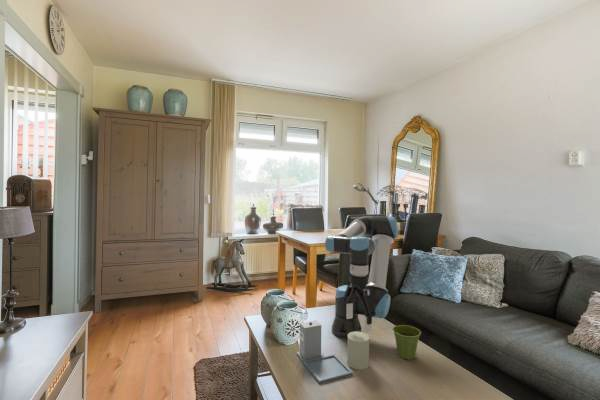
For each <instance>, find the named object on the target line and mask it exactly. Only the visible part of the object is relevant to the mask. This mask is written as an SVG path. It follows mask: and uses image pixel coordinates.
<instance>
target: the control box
mask: <svg viewBox="0 0 600 400" xmlns="http://www.w3.org/2000/svg"><path fill="white" fill-rule="evenodd" d="M296 355H297V356H298V358H299V359H300V361H302V363H304V361H306V360H310V359H315V358H319V357H323V356H325V355H324V354H323V353H322V324H321V322H318V320H313V321H312V320H311V321H306V322H301V323H299V351H297V352H296Z"/></svg>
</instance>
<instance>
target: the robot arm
mask: <svg viewBox="0 0 600 400" xmlns="http://www.w3.org/2000/svg"><path fill="white" fill-rule="evenodd" d="M398 237H399V229H398V221H397V218H396V217H393V216H378V215H365V216H360V217H358V218H356V219H354V220H353V221H351V222H350V223H349V225H348V227H346V228H345V229H343V230H342V231H340V233H338V234H337V235H327V237H326V238H325V241H324V248H325V250H326V252H328V253H336V254H343V255H344V254H348V255H349V257H350V258H349V262H350V263H349V273H350V274H349V281H347V284H344V285H341V286H338V287H337V288H336V289H335V296H334V297H335V299H334V301H335V305H334V308H335V311H334V312H335V314H334V319H333V322H332V324H331V333H332V334H333V335H335V336H337V337H338V338H344V339H348V336H347V335H348V334H349V333H350V332H355V331H358V332H363V331H362V325H361V321H360V318H359V316H360V315H361V316H364V329H363V330H364V332H363V333H369V332H372V323H373V318H375V319H385V318H386V316H388V314H389V310H390V306H391V295H390V294H389V291H388V289H387V287H386V285H387V275H388V268H389V259H390V252H391V244H393V243H394V242H395V240H396V239H398ZM370 255H372V256H371V262H370V268H369V256H370ZM369 269H370V270H369Z"/></svg>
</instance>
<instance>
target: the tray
mask: <svg viewBox="0 0 600 400" xmlns="http://www.w3.org/2000/svg"><path fill="white" fill-rule="evenodd" d="M303 365H304V366H305V368H306V369H307V370H308V371H309V373H310V374H311V376H313V378H314V379H315V380H316V382H318V384H323V383H328V382H331V381H335V380H339V379H342V378H347V377H351V376H353V375H354V372H353V371H352V370H351V368H349V366H347V365H346V364H345V362H343V361H342V360H341V359H340V358H339V357H338V356H337V355H336V354H335V353H334V354H332V353H331V354H328V355H324V356H323V357H319V358H315V359H310V360H306V361H304V362H303Z"/></svg>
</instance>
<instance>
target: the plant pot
mask: <svg viewBox="0 0 600 400" xmlns="http://www.w3.org/2000/svg"><path fill="white" fill-rule="evenodd" d="M392 331H393V334H394V335H393V336H394V337H395V345H396V351H397V356H398V357H399V358H401V359H406V360H408V361H409V360H410V361H411V360H414V359H416V354H417V348H418V342H419V339H420V336H421V334H422V331H421V329H419V328H417V327H414V326H411V325H406V324H400V325H399V324H398V325H395V326H393V327H392Z"/></svg>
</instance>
